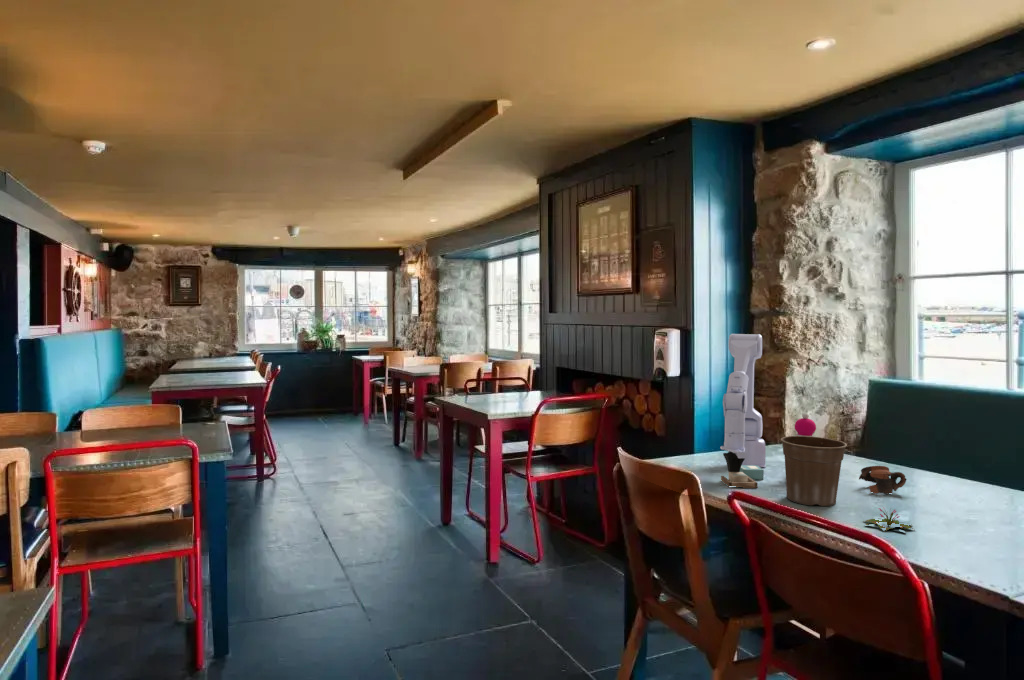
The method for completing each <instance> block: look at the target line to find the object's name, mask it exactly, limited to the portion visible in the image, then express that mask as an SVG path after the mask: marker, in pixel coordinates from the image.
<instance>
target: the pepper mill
mask: <svg viewBox="0 0 1024 680" xmlns="http://www.w3.org/2000/svg"><path fill="white" fill-rule="evenodd" d="M794 423H795V424H794V431H795V432H796V434H795V436H810V437H815V435H814V433H815V432H816V431H817V425H816V423H815V421H814V420H812V419H810V417H809V414H808V413H806V412H804V413H803V414H802V418H799V419H797V420H796V421H795V422H794Z"/></svg>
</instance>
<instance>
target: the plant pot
mask: <svg viewBox="0 0 1024 680" xmlns="http://www.w3.org/2000/svg"><path fill="white" fill-rule="evenodd" d="M780 442H781V443H782V453H783V455H784V466H785V467H784V468H785V471H784V472H785V487H786V498H787V499H788V501H789V500H790V501H791V502H794V503H795V504H796V503H797V504H800V505H804V506H805V505H806V506H815V505H818V506H819V507H831V506H834V505H835V504H836V503H837V496H838V489H839V482H840V477H841V476H840V474H841V467H842V461H843V460H844V456H845V449H846V448H847V446H848V444H847V443H846V442H844V441H841V440H837V439H832V438H828V437H819V436H814V437H810V436H797V435H791V436H790V435H789V436H784V437H781V438H780Z"/></svg>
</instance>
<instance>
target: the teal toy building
mask: <svg viewBox="0 0 1024 680" xmlns="http://www.w3.org/2000/svg"><path fill="white" fill-rule="evenodd" d="M740 472H743V473H744V474H746V475H747V476H749V477H750V478H751V479H753V480H754V481H756V480H758V481H759V480H761V481H762V480H764V479H765V477H764V475H765V474H764V473H765V472H764V469H763V467H759V466H757V465H741V468H740Z"/></svg>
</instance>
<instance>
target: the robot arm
mask: <svg viewBox="0 0 1024 680" xmlns="http://www.w3.org/2000/svg"><path fill="white" fill-rule="evenodd" d="M728 352H729V353H730V354H731V356H732V358H734V363H733V372H731V373H730V374H729V376H728V383H727V388H726V393H724V394H723V398H722V408H723V417H724V441H723V445H721V446H720V450H723V451H727V452H722V453H723V458H724V460H725V462H726V465H727V470H728V473H729V472H740V468H741V465H757V466H759V467H760V468H766V467H767V465H766V441H765V440H764V439H763V438H762V436H763V427H764V426H763V416H762V414H761V413H760V412H759V411H758V410H756V408H754V398H755V397H754V396H755V395H754V394H755V388H754V387H755V365H756V361H757V360H758V359H762V356H763V336H762V335H761V334H760V333H757V334H753V333H751V334H749V333H747V334H745V333H731V334H730V335H729V338H728Z"/></svg>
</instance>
